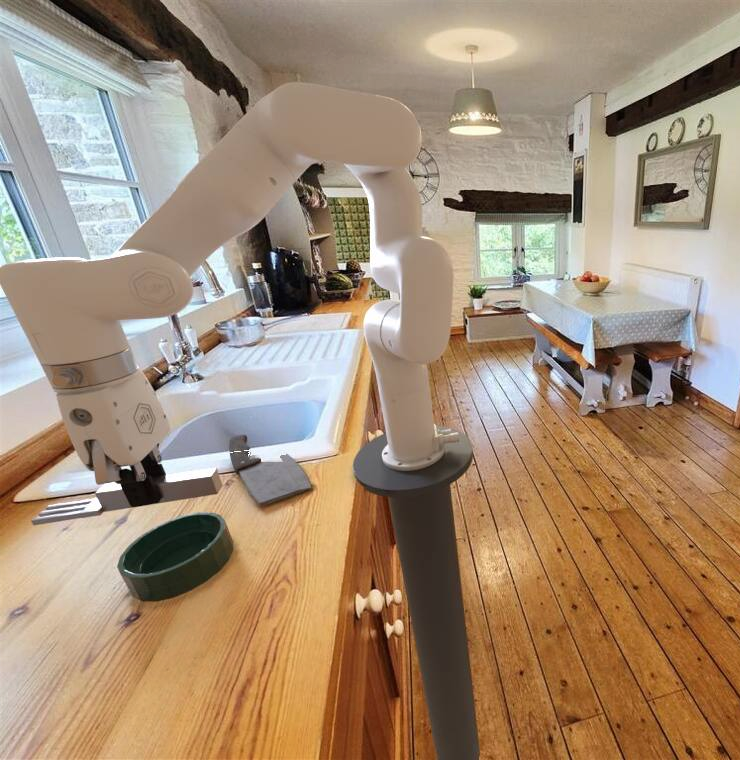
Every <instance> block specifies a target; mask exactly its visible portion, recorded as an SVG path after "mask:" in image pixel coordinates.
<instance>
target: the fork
mask: <svg viewBox="0 0 740 760" xmlns="http://www.w3.org/2000/svg"><path fill="white" fill-rule="evenodd" d="M152 479H153V482H154V484H155V486H156V488H157V491H158V493H159V495H160V498H161V500H160V501H159V503H157V504H163V503H169V502H176V501H183V500H189V499H194V498H201V497H208V496H215V495H218V494H219V493H220V491H221V490H222V488H223V483H222V479H221V475H220V473H219V470H218V468H217V467H214V468H205V469H200V470H193V471H186V472H178V473H172V474H166V475H165V476H158V477H152ZM94 495H95V497H94V498H88V499H87V498H86V499H81V500H75V501H68V502H61V503H56V504H48V505H47V506H46V507H45V510H42V511H40V512H39V513H38V516H36V517H33V518H32V519H31V520H30V522H31V523H32V525H33V526H40V525H46V524H51V523H52V524H53V523H58V522H64V521H71V520H77V519H85V518H92V517H98V516H101V515H103V513H106V512H113V511H120V510H126V509H127V510H128V509H132V508H134V507H131V506H130V504H129V502H128V500H127V498H126V496H125V494H124V492H123V490H122V488H121V486H120V484H119V485H116V484H115V483H114V482H113V483H108V484H102V485H101V486H100V488H99V489H98V490H97V491H95V492H94ZM157 504H156V505H157Z"/></svg>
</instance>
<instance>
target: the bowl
mask: <svg viewBox="0 0 740 760" xmlns="http://www.w3.org/2000/svg"><path fill="white" fill-rule="evenodd" d="M234 546H235V545H234V540H233V537H232V535H231V533H230V530H229V527H228V525H227V522H226V519H224V517H223V516H222V515H220V514H218V513H215V512H211V511H210V512H209V511H201V512H200V511H199V512H193V513H187V514H184V515H181V516H178V517H175V518H171V519H169V520H167V521H165V522H162V523H161V524H159V525H157V526H155V527H153V528H151V529H149V530H148V531H146V532H144V533H143V534H141V535H140V536H139V537H137V538H136V539H135V540H134V541H132V543H130V544H129V545H128V546H126V548H125V550H124V551H123V552H122V553H121V555H119V559H118V562H117V566H116V568H117V570H118V573H119V574H120V576H121V578H122V580H123V582H124V583H125V585H126V587H127V589H128V590H129V592H130V594H131V596H132V597H133V598H134V599H136V600H138V601H140V602H144V603H145V602H147V603H149V602H150V603H151V602H152V603H157V602H161V601H166V600H170V599H175V598H177V597H179V596H182V595H184V594H187V593H189V592H191V591H193V590H195V589H197V588H198V587H200V586H202V585H204V584H205V583H207V582H208V581H209V580H210V579H212V578H213V577H215V576H216V575H217V574H218V573H220V571H222V570H223V568H224V567H225V566H226V565H227V563H228V562H229V561H230V559H231V557H232V555H233V552H234V550H235V548H234Z"/></svg>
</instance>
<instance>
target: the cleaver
mask: <svg viewBox="0 0 740 760" xmlns="http://www.w3.org/2000/svg"><path fill="white" fill-rule="evenodd" d="M247 442H248V436H247V435H246V434H240V435H235V436H232V437H231V438H230V439H229V443H228V451H229V457H230V462H231V466H232V468H233V470H234V472H235V474H236V475H237V476H239V477H240V479H241V480H242V482H243V485H244V486H245V489H246V490H247V492H248V494H249V495H250V497H251V498H252V499H253V501H254V502H256V503H257V504H258V506H259V507H264V506H266V505H269V504H273V503H275V502H278V501H281V500H284V499H287V498H291V497H293V496H296V495H299V494H301V493H304V492H306V491H308V490H309V489H311V488H312V484H311V482H310V480H309V477H308V476H307V474H306V473H305V471H304V470H303V468H302V467H301V465H300V464H299V463H298V462H297V461H296V460H295V459H294V458H293V457H292V456H291V455H289V454H288V453H287V454H286V455H281V456H280V458H281V459H282V461H283V462H261V458H260V457H253V458H252V457H251V454H252V451H251V452H250V455H249V457H248V454H249V453H248V452H249V451H244V450H249V449H250V450H251V448H250V446H249V445H248V444H247ZM234 451H241V452H234ZM230 452H233V453H230Z"/></svg>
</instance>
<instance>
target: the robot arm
mask: <svg viewBox="0 0 740 760" xmlns="http://www.w3.org/2000/svg"><path fill="white" fill-rule="evenodd" d="M422 141H423V140H422V131H421V127H420V124H419V122H418V120H417V118H416V116H415V115H414V114H413V112H412V111H411V110H410V109H409V108H408V107H407V106H406V105H404V104H403V103H402V102H401V101H399V100H397V99H394V98H391V97H388V96H384V95H379V94H375V93H367V92H364V91H363V92H362V91H356V90H351V89H347V88H340V87H337V86H336V87H335V86H330V85H325V84H318V83H311V82H304V81H303V82H302V81H293V82H286V83H283V84H281V85H280V86H278V87H276V88H275V89H274V90H272V91H271V92H269V93H268V94H266V95H265V96H262V98H260V99H259V100H258V101H257V102H256V103H255V104H254V105H253V106H252V107H251V108H250V109H249V110H248V111H247V112H246V113H245V114H244V115H242V117H241V118H240V119H239V120H238V121H237V122H236V123H235V124H234V125H233V126H232V127H231V128H230V129H229V131H228V132H227V133H226V134H225V135H223V137H222V138H221V139H220V140H219V141H218V142H217V143H216V144H215V145H214V146H213V147H212V148H211V149H210V150H209V152H207V153H206V155H204V156H203V157H202V158H201V159H200V160H199V162H197V163H196V165H194V166H193V168H192V169H191V170H190V171H189V172H188V173H187V174H186V175H185V176H183V178H182V179H181V181H180V182H179V183H178V184H177V186H176V187H175V189H174V190H173V191H172V192H171V193H170V195H169V196H168V197H166V199H165V200H163V202H162V203H161V204H160V205H159V206H158V207H157V208H156V209H155V210H154V212H153V213H151V215H149V217H148V218H146V219H145V220H144V222H143V223H142V224H141V225H139V227H138V228H137V229H136V230H135V231H134V232H133V233H132V234H131V235H130V236H129V237H128V238H127V239H126V240H125V241H124V242H123V243H122V245H120V247H118V248H117V250H115V252H114V253H112V255H111V256H110V257H103V258H96V259H88V260H87V259H85V258H81V257H69V256H68V257H49V258H48V257H47V258H37V259H26V260H25V259H24V260H17V261H11V262H7V263H4V264H2V265H1V266H0V287H1V289H2V291H3V293H4V294H5V298H6V299H7V301H8V303H9V305H10V307H11V309H12V311H13V313H14V316H15V317H16V319H17V321H18V324H19V325H20V327H21V328H22V331H23V333H24V334H25V337H26V338H27V340H28V343H29V344H30V347H31V348H32V350H33V352H34V354H35V357H36V358H37V360H38V362H39V364H40V366H41V368H42V370H43V372H44V375H45V376H46V378H47V380H48V382H49V384H50V386H51V388H52V390H53V392H54V393H56V395H55V397H56V400H57V404H58V408H59V412H60V415H61V418H62V421H63V424H64V426H65V429H66V432H67V435H68V437H69V439H70V442H71V444H72V446H73V448H74V450H75V452H76V454H77V456H78V458H79V460H80V461H81V463H82V464H83V465H84V467H85V468H86V469H87V470H88V471H91V472H93V473H94V479H95V484H96V485H98V486H100V485H101V486H103V485H104V484H110V483H115V484H116V485H119V484H120V486H121V488H122V490H123V492H124V494H125V496H126V498H127V500H128V502H129V504H130V506H131V507H133V508H139V507H146V506H150V505H157V503H158V504H160V503H159V501H160V500H161V498H160V495H159V493H158V491H157V488H156V486H155V484H154V482H153V479H152V477H158V476H165V475H167V473H166V470H165V468H164V466H163V464H162V461H163V457H162V456H163V455H162V454H161V452H160V450H159V449H160V448H159V446H160V443H161V442H162V440H164V439H165V438H166V437H167V436H168V434H169V432H170V431H171V424H170V422H169V419H168V417H167V414H166V412H165V409H164V408H163V405H162V404H161V403H162V402H161V401H160V400H159V397H158V396H157V394H156V391H155V390H154V388H153V386H152V384H151V383H150V381H149V379H148V378H147V376H146V375H145V373H144V372H143V370H142V369H141V368H140V367H139V366H138V363H137V361H136V358H135V355H134V353H133V351H132V348H131V345H130V343H129V341H128V339H127V335H126V333H125V331H124V328H123V326H122V324H121V321H126V320H128V321H129V320H152V319H154V320H155V319H162V318H163V319H164V318H167V317H171V316H175V315H178V314H179V313H181V312H182V311H183V310H185V309H186V308H187V307H188V306H189V305H190V303H191V302H192V299H193V298H194V291H195V290H194V283H193V280H192V278H191V277H192V276H193V275H194V273H196V271H197V270H198V269H199V268H200V267H201V266H202V265H203V263H205V262H206V261H207V259H209V257H211V256H212V255H213V254H214V253H215V252H216V251H217V250H218V249H220V248H221V247H222V246H223V245H225V244H227V243H228V242H230V241H231V240H233V239H235V238H237V237H239V236H241V235H243V234H246V233H247V232H249V231H250V230H252V229H253V228H254V227H255V226H257V225H258V224H260V222H261V221H262V220H264V219H265V217H266V216H267V215H268V214H269V213H270V211H271V210H272V209H273V208H274V207H275V206H276V204H277V203H278V202H279V201H280V199H281V198H282V197H283V196H284V195H285V194H286V193H287V191H288V190H289V189H290V188H291V187H292V186H293V185H294V184H296V182H297V181H298V179H300V177H302V175H303V174H304V173H305V172H306V170H307V169H309V167H311V166H312V165H314V164H318V163H329V164H330V163H331V164H338V165H344V166H345V168H347V170H349V171H350V172H351V173H352V174H353V175H354V176H355V178H356V179H357V180H358V181H359V183H360V184H361V187H362V188H363V190H364V192H365V195H366V197H367V201H368V208H369V249H370V250H369V268H370V274H371V277H372V279H373V281H374V282H375V283H376V285H378V286H379V287H380V288H381V289H383V290H386V291H388V292H391V293H394V294H399V299H390V298H388V299H382V300H380V301H377V302H375V303H374V304H372V305H371V306H370V307H369V309H368V310H367V311H366V313H365V316H364V318H363V325H362V327H363V335H364V339H365V342H366V346H367V348H368V352H369V354H370V358H371V360H372V364H373V368H374V372H375V377H376V384H377V388H378V395H379V401H380V405H381V406H380V407H381V411H382V417H383V423H384V428H385V433H386V435H387V441H388V445H387V446H386V447H385V448H384V450H383V452H382V459H383V462H384V464H385V465H386V466H388V467H389V468H392V469H395V470H400V471H412V470H418V469H422V468H425V467H428V466H430V465H432V464H434V463H435V462H437V461H438V460H439V459H440V458H441V457H442V456H443V454H444V452H445V446H444V444H447V443H455V442H459V435H458V433H452V434H451V429H448V430H444V431H439V430H436V425H437V424H435V418H434V410H433V403H432V395H431V387H430V386H431V385H430V376H429V370H428V365H429V364H432V363H434V362H436V361H438V360H439V359H440V358H441V357H442V356H443V355H444V353H445V352H446V350H447V348H448V345H449V342H450V339H451V338H450V337H451V332H452V331H451V330H452V317H453V316H452V315H453V300H454V299H453V297H454V268H453V263H452V260H451V257H450V256H449V253H448V251H447V250H446V248H445V247H444V246H443V245H442V244H441V243H440V242H439V241H437V240H435V239H434V238H432V237H431V238H430V237H428V236H423V206H422V204H423V203H422V199H421V194H420V191H419V189H418V186H417V184H416V182H415V179H414V178H413V176H412V174H411V173H410V171H409V170H408V169H407V167H409V166H411V165H412V164H413V163H414V162H415V161H416V159H417V158H418V156H419V154H420V151H421V149H422V145H423V144H422V143H423V142H422ZM122 467H123V468H122ZM124 467H129V468H130V469H129V468H124Z"/></svg>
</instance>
